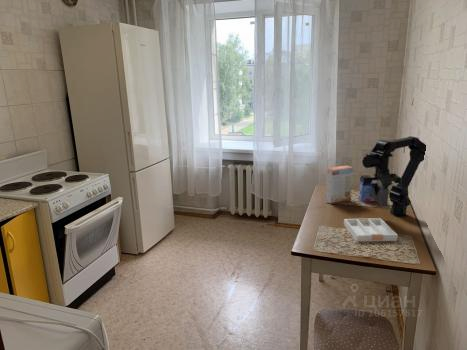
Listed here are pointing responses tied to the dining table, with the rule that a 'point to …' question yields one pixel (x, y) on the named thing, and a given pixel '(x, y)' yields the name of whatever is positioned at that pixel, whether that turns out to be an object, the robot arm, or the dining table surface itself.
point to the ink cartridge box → (365, 192)
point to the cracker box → (339, 184)
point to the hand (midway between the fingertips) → (378, 195)
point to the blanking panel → (380, 194)
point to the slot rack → (370, 229)
